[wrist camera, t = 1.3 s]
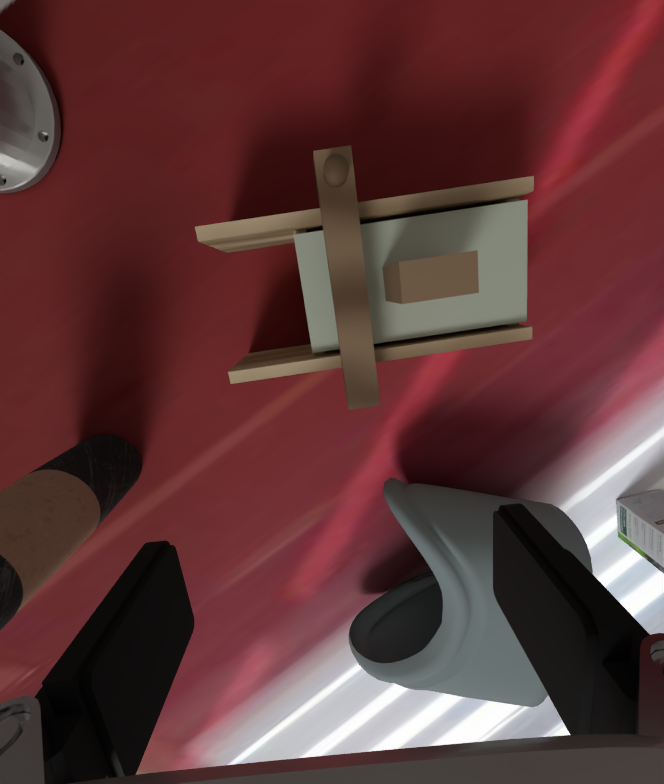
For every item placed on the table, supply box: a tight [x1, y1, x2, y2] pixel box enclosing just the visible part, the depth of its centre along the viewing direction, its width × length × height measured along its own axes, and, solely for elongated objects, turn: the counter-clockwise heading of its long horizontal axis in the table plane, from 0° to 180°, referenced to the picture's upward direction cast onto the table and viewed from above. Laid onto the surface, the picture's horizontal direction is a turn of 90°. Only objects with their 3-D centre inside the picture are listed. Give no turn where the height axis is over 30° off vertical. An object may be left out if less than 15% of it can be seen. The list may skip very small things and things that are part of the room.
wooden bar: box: [313, 145, 380, 410], centre depth 26 cm, size 18×2×3 cm, turn 8°
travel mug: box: [0, 435, 141, 630], centre depth 31 cm, size 8×8×20 cm
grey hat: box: [349, 478, 592, 707], centre depth 40 cm, size 22×19×13 cm
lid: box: [294, 200, 528, 353], centre depth 27 cm, size 9×18×7 cm, turn 98°
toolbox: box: [195, 176, 534, 384], centre depth 32 cm, size 12×25×9 cm, turn 98°
